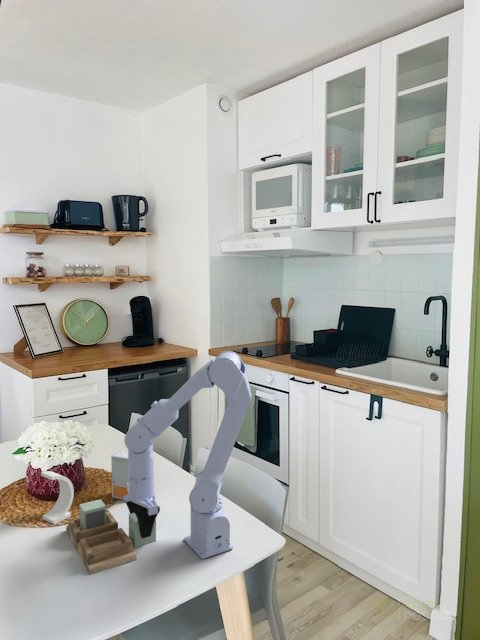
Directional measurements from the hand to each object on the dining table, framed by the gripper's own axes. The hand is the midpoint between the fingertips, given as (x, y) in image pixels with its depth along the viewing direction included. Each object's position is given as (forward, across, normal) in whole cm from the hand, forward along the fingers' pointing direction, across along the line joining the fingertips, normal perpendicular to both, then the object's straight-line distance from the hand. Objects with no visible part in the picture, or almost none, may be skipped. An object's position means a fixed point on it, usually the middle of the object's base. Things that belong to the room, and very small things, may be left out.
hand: (142, 531), depth 118 cm
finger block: (+2, 0, 0) cm, 2 cm away
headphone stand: (+2, -21, -14) cm, 25 cm away
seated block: (+1, -8, -9) cm, 12 cm away
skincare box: (+2, -23, +4) cm, 23 cm away
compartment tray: (+2, -3, -9) cm, 10 cm away
